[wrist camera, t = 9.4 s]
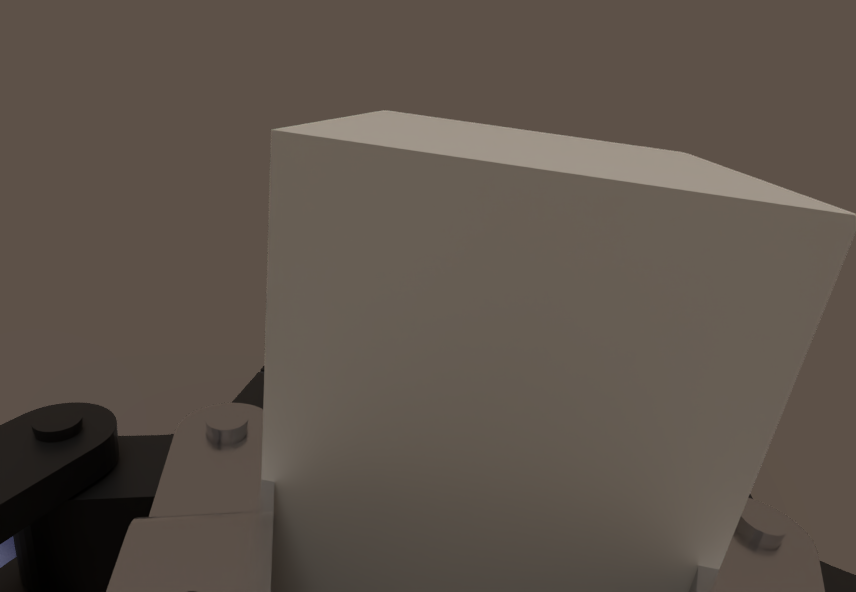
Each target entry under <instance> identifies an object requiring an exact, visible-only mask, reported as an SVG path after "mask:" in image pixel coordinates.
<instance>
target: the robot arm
mask: <svg viewBox="0 0 856 592" xmlns="http://www.w3.org/2000/svg"><path fill="white" fill-rule="evenodd" d="M264 366H265V365H264ZM264 366H263V368H262V369H261V372H258V373H257V374H256V376H255V377H254V378H253V379H252V380H251V381H250V383H249V384H248V385H247V386H246V387H245V388H244V389H243V390H242V392H241V393H240V394H239V395H238V396H237V397H236V398H235V400H234V401H233V402H232V403H221V404H214V405H210V406H206V407H203V408H200V409H198V410H196V411H194V412H192V413H190V414H189V415H187V416H186V417H185V418H183V420H181V421H180V423H179V424H178V426H177V428H176V430H175V433H174V434H171V435H157V436H156V435H155V436H154V435H151V436H118V433H117V421H116V417H115V416H114V414H113V413H112V412H111V411H109V410H108V409H106V408H104V407H102V406H99V405H95V404H90V403H63V404H56V405H51V406H46V407H42V408H39V409H36V410H33V411H30V412H28V413H25V414H23V415H21V416H19V417H17V418H15V419H13V420H11V421H9V422H6V423H4V424H2V425H0V544H1V543H3V542H4V541H6V540H7V539H9V538H10V537H12V536H13V538H14V544H15V550H16V556H17V557H16V558H14V559H13V560H11V561H10V562H8V563H7V564H6V565H4V566H3V567H1V568H0V592H271V571H272V543H273V516H274V486H275V482H272V481H267V480H262V479H261V472H262V437H263V401H264ZM689 592H856V575H854V574H851V573H848V572H846V571H843V570H841V569H838V568H836V567H833V566H831V565H829V564H826V563H824V562H822V561H820V560H819V556H818V551H817V548H816V546H815V544H814V542H813V540H812V539H811V538H810V536H809V535H808V534H807V533H806V532H805V531H804V529H803V528H802V527H800V526H799V525H798V524H797V523H796V522H794V521H793V520H792V519H791V518H789V517H788V516H786V515H785V514H783V513H782V512H780V511H778V510H777V509H775V508H773V507H771V506H769V505H767V504H764V503H762V502H760V501H757V500H754V499H753V498H752V497H751V495H749V497H748V500H747V502H746V505H745V507H744V509H743V512H742V514H741V517H740V519H739V522H738V524H737V527H736V529H735V532H734V534H733V537H732V539H731V542H730V544H729V547H728V549H727V552H726V554H725V557H724V559H723V561H722V564H721V566H720V569H714V568H709V567H704V566H698V569H697V571H696V574H695V576H694V579H693V582H692V584H691V587H690V589H689Z"/></svg>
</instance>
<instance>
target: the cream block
mask: <svg viewBox="0 0 856 592" xmlns="http://www.w3.org/2000/svg"><path fill="white" fill-rule="evenodd" d="M855 232H856V214H855V213H852V212H849V211H846V210H843V209H841V208H838V207H835V206H832V205H829V204H827V203H824V202H821V201H818V200H816V199H813V198H810V197H807V196H804V195H801V194H798V193H796V192H793V191H791V190H788V189H785V188H782V187H779V186H777V185H774V184H771V183H768V182H765V181H763V180H760V179H757V178H754V177H751V176H749V175H746V174H743V173H740V172H737V171H735V170H732V169H729V168H726V167H724V166H721V165H718V164H715V163H712V162H710V161H707V160H704V159H701V158H698V157H696V156H693V155H690V154H687V153H684V152H677V151H670V150H662V149H656V148H649V147H642V146H634V145H628V144H621V143H614V142H606V141H599V140H592V139H585V138H578V137H571V136H564V135H557V134H549V133H542V132H535V131H528V130H522V129H514V128H507V127H500V126H493V125H486V124H478V123H472V122H465V121H458V120H451V119H443V118H437V117H429V116H422V115H415V114H408V113H400V112H394V111H387V110H384V111H377V112H371V113H366V114H360V115H354V116H348V117H343V118H336V119H331V120H325V121H319V122H313V123H307V124H302V125H296V126H290V127H284V128H278V129H272V130H271V154H270V190H269V226H268V260H267V262H268V263H267V295H266V296H267V298H266V331H265V366H264V401H263V437H262V472H261V479H262V480H267V481H272V482H275V486H274V516H273V543H272V571H271V592H689V589H690V587H691V584H692V582H693V579H694V576H695V574H696V571H697V569H698V566H704V567H709V568H714V569H720V566H721V564H722V561H723V559H724V557H725V554H726V552H727V549H728V547H729V544H730V542H731V539H732V537H733V534H734V532H735V529H736V527H737V524H738V522H739V519H740V517H741V514H742V512H743V509H744V507H745V505H746V502H747V500H748V497H749V495H750V492H751V490H752V487H753V485H754V482H755V480H756V477H757V475H758V472H759V469H760V467H761V465H762V462H763V460H764V457H765V455H766V453H767V450H768V447H769V445H770V442H771V440H772V438H773V435H774V432H775V430H776V427H777V425H778V423H779V420H780V418H781V415H782V413H783V410H784V408H785V405H786V403H787V400H788V398H789V395H790V393H791V390H792V388H793V386H794V383H795V381H796V378H797V376H798V373H799V371H800V368H801V366H802V363H803V361H804V358H805V356H806V353H807V351H808V348H809V346H810V344H811V341H812V339H813V336H814V333H815V331H816V329H817V326H818V324H819V321H820V319H821V316H822V314H823V311H824V309H825V306H826V304H827V301H828V299H829V296H830V294H831V292H832V289H833V287H834V284H835V281H836V279H837V277H838V274H839V271H840V269H841V266H842V264H843V262H844V259H845V257H846V254H847V252H848V249H849V247H850V244H851V242H852V239H853V237H854V235H855Z"/></svg>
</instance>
